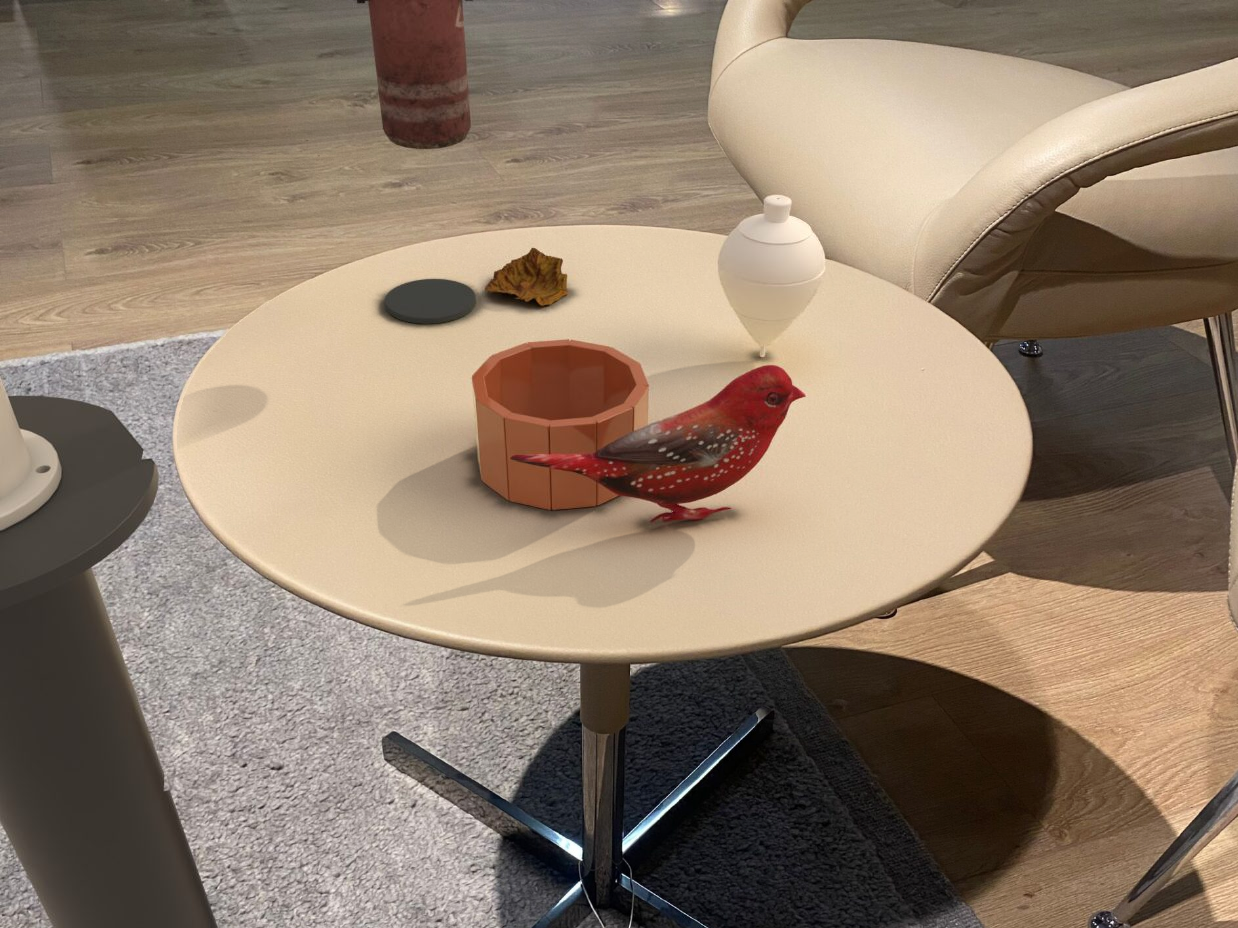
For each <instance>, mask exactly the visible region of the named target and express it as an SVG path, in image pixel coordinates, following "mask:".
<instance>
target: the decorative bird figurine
mask: <svg viewBox="0 0 1238 928" xmlns="http://www.w3.org/2000/svg"><path fill="white" fill-rule="evenodd" d="M806 397H807V396H806V394H805V392H803V391H802V390H801V389H800V388H798V387H797V386H795V385H794V384H793V379H792V378H791V376H790V375H789V374H788V373H787V372H786V371H785V369H784V368H782V367H781V366H778V365H776V364H766V365H762V366H758V367H756V368H754V369H751V370H749V371H746V372H745V373H743V374H742V375H739V376H737V377H736V378H734V379H733V380H731V381H730V382H729V383H728V384H726V386H725V387H723V389H721V390H720V391H719V392H718V393H716V394H715V395H714V396H713V397H712V398H710V399H709V400H707V401H705V402H702V403H701V404H699V405H696V406H694V407H691V408H689V409H687V410H685V411H682V412H679V413H677V414H674V415H671V416H668V417H664V418H662V419H659V420H657V421H654V422H651V423H648V425H647V426H645V427H642V428H640V429H638V430H635V431H633V432H631V433H629V434H627V435H625V436H623V437H621V438H619V439H617V440H615V441H613V442H611V443H610V444H608V445H606V446H605V447H603V448H601V449H599V450H598V451H596V452H594V453H589V454H526V455H514V456H512V457H511V458H510V459H511V460H515V461H517V462H521V463H526V464H531V465H537V466H542V467H548V468H553V469H557V470H563V471H570V472H575V473H578V474H581V475H584V476H586V477H588V478H590V479H592V480H594V481H595V482H598V483H599V484H601V485H602V486H604V487H605V488H607V489H608V490H610V491H612V492H613V493H615V494H617V495H619V496H620V497H621V496H622V497H627V498H633V499H638V500H643V501H646V502H651V503H653V504H656V505H658V506H659V507H660V508H664V509H667V510H670V511H669V512H668V511H666V512H662V513H659V514H658V515H656V516H654V517H653V518H652V519H651V520H650V521H649V523H653V522H655V521H658V520H659V519H661V522H663V523H667V522H673V521H682V520H693V521H694V520H695V521H698V520H702V519H705V518H707V517H708V516H710V515H712V514H715V513H716V514H717V513H719V512H723V511H728V510H732V507H729V506H722V507H719V508H715V509H713V508H712V509H711V508H708V507H705V506H702V507H696V508H695V507H694V508H690V507H686V506H685V505H682V504H690V503H694V502H697V501H700V500H705V499H707V498H710V497H712V496H715V495H717V494H719V493H721V492H723V491H725V490H726V489H728V488H730V487H731V486H734V485H735V484H736V483H738V482H739V481H740V480H742V479H743V478H745V476H747V475H748V474H749V473H750V472H751V471H752V470H753V469H754V468H755V467H756V466H757V465H758V463H760V461H761V460H762V459H763V457H764V456H765V455H766V452H767V451H768V450H769V448H770V446H771V444H772V441H773V439H774V438H775V436H776V434H777V432H778V431H779V428H780V427H781V425H782V424H784V423H783V422H784V421H785V419H786V417H787V415H788V411H789V409H790V406H791V404H792V403H793V402H795V401H797V400H799V399H802V398H806Z"/></svg>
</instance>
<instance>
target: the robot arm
mask: <svg viewBox="0 0 1238 928" xmlns="http://www.w3.org/2000/svg"><path fill="white" fill-rule="evenodd" d="M464 1H465V2H473V1H474V0H464ZM366 2H368V0H356V4H366ZM8 396H9V395H8V394H7V391H6V388H5V385H4V382H3V380H2V377H1V376H0V531H2V530H5V529H7V528H9V527H10V526H12V525H14V524H16V523H18V522H20V521H22V520H23V519H25V518H26V517H28V516H29V515H31V514H32V513H34V512H35V511H37V510H38V509H39V508H40V507H41V506H42V505H43V504H44V503H45V502H47V501H48V500H49V498H50V497H51V496H52V494H53V493H54V492H55V490H56V489H57V487H58V485H59V482H60V480H61V473H62V467H61V464H60V461H59V458H58V455H57V452H56V451H55V449H54V447H53V446H52V444H50V443H49V442H48V441H47V440H46V439H44V438H43V437H41V436H39V435H37V434H35V433H32V432H30V431H26V430H23V429H20V428H19V426H18V423H17V420H16V418H15V415H14V412H13V409H12V407H11V404H10V401H9V398H8Z"/></svg>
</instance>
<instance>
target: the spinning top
mask: <svg viewBox="0 0 1238 928" xmlns="http://www.w3.org/2000/svg"><path fill="white" fill-rule="evenodd" d="M792 202H793V201H792V199H791V198H790V197H788V196H787V195H782V194H771V195H767V196H766V197H764V199H763V213H759V214H755V215H751V216H748V217H746V218H744V219H742V220H741V221H740V222H739V223H738V225H736V227H735V228H734V229H733V230H731V232H730V233H729V234H728V235H727V237H726V238H725V239H724V241H723V243H722V245H721V247H720V250H719V252H718V258H717V274H718V278H719V279H718V280H719V282H720V285H721V288H722V290H723V292H724V295H725V297H726V299H727V301H728V303H729V305H730V307H731V309H732V311H733V312H734V314H735V315H736V317H737V318H738V320H739V322H740V324H742V326H743V328H744V329H745V330H746V332H747V333H748V334H749V336H750V337H751V338H752V339H753V341H754V342H755V343H756V344H757V345H758V346H760V349H759V356H760V357H761V358H764V357H765V356H766V347H768V346H770V345H771V344H772V343H774V342H775V341H776V340H777V339H779V337H780V336H782V335H783V334H784V333H785V332H786V331H787V330H788V329H789V328H790V327H791V326H792V325H793V323H794V322H795V321H796V320H797V319H798V318H799V317H800V316H801V315H802V314H803V313H804V312H805V310H806V309H807V307H808V306H809V305H810V303H811V302H812V300H813V299H814V297H815V296H816V294H817V293H818V291H819V290H820V288H821V286H822V283H823V280H824V278H825V277H824V276H825V273H826V254H825V251H824V248H823V245H822V243H821V242H820V240H819V238H818V236H817V235H816V233H815V232H814V231H813V230H812V227H811V226H810V225H809V224H808V223H807V222H805V221H804V220H802V219H800V218H799V217H795V216H793V215H790V213H791V208H792V204H793V203H792Z"/></svg>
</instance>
